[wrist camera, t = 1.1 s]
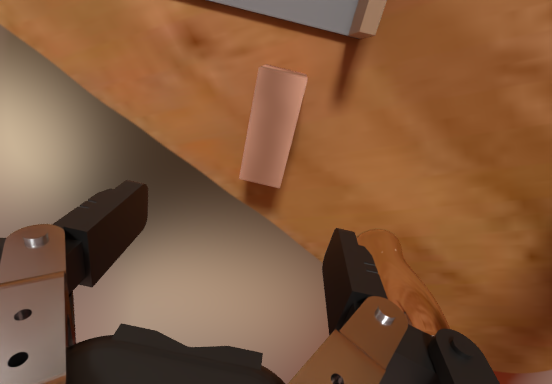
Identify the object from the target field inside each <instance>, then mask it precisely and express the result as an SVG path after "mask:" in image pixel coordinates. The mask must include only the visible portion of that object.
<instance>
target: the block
mask: <svg viewBox="0 0 552 384" xmlns="http://www.w3.org/2000/svg"><path fill="white" fill-rule="evenodd" d="M307 80H308V78H307V75H306V74H304V73H300V72H296V71H291V70H287V69H283V68H279V67H275V66H271V65H264V66H261V67H259V70H258V75H257V81H256V86H255V92H254V98H253V103H252V109H251V114H250V120H249V126H248V131H247V137H246V143H245V148H244V154H243V159H242V165H241V171H240V176H239V179H242V180H246V181H250V182H255V183H259V184H263V185H267V186H272V187H276V188H280V186H281V182H282V178H283V174H284V170H285V166H286V162H287V158H288V155H289V151H290V147H291V143H292V139H293V135H294V131H295V127H296V123H297V119H298V115H299V111H300V107H301V103H302V99H303V96H304V92H305V88H306V84H307Z"/></svg>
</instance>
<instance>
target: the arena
mask: <svg viewBox="0 0 552 384" xmlns="http://www.w3.org/2000/svg"><path fill="white" fill-rule="evenodd" d="M207 1H211V2H215V3H219V4H223V5H227V6H231V7H235V8H239V9H243V10H247V11H251V12H255V13H259V14H263V15H267V16H271V17H274V18H278V19H282V20H286V21H290V22H294V23H298V24H302V25H306V26H310V27H314V28H318V29H322V30H326V31H330V32H334V33H338V34H342V35H346V36H349V37H353V38H357V39H362V38H367V37H371V36H375V34H376V31H377V28H378V25H379V22H380V19H381V16H382V13H383V10H384V7H385V4H386V1H387V0H207Z"/></svg>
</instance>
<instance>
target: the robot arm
mask: <svg viewBox="0 0 552 384" xmlns="http://www.w3.org/2000/svg"><path fill="white" fill-rule="evenodd" d="M147 216H148V187H147V185H146V184H143V183H138V182H134V181H129V180H126V181H124V182H123V183H122V184H120V185H119V186H118V187H116V188H115V189H108V190H105V191H102V192H99V193H97V194H95V195H94V196H92V197H91V198H90V199H88V201H85V202H84V203H82V204H81V205H80V207H77V208H75V209H74V210H72V211H71V212H69V213H68V214H67V215H65V216H64V217H62V218H61V219H59V220H58V221H57V222H55V223H54V224H52V225H50V224H40V225H39V224H38V225H32V226H27V227H24V228H21V229H19V230H17V231H15V232H13V233H12V234H10V235H9V236H8V237H7V238H0V384H285V383H284V382H283V381H282V380H281V379H280V378H279V377H278V376H277V375H276V374H275V373H273V372H272V371H270V370H269V369H267V368H266V367H264V366H262V365H261V363H262V355H263V354H262V353H259V352H255V351H249V350H245V349H240V348H235V347H230V346H217V347H187V346H185V345H183V344H181V343H179V342H177V341H175V340H173V339H171V338H169V337H167V336H165V335H163V334H162V333H160V332H158V331H155V330H150V329H145V328H140V327H136V326H131V325H126V324H121V325H120V326H119V328H118V329H117V331H116V332H115V334H114V335H108V336H101V337H96V338H92V339H88V340H85V341H82V342H79V343H76V333H75V314H74V297H73V290H74V289H75V288H76V287H77V286H78V285H84V286H89V287H93V286H94V285H95V284H96V283H97V282H98V280H99V279H100V278H101V277H102V276H103V275H104V274H105V272H106V271H107V270H108V269H109V268H110V267H111V266H112V265H113V263H114V262H115V261H116V260H117V259H118V258H119V257H120V255H121V254H122V253H123V252H124V251H125V250H126V248H127V247H128V246H129V245H130V244H131V243H132V242H133V241H134V239H135V238H136V237H137V236H138V235H139V234H140V233H141V231H142V230H143V229H144V227H145V225H146V222H147ZM322 270H323V271H322V272H323V281H324V290H325V298H326V308H327V318H328V327H329V335H330V336H329V337H328V338H327V339H326V340H325V342H324V343H323V344H322V345H321V346H320V347H319V348H318V350H317V351H316V352H315V353H314V354H313V355H312V357H311V358H310V359H309V360H308V361H307V362H306V363H305V365H304V366H303V367H302V368H301V369H300V370H299V371H298V373H297V374H296V375H295V376H294V377H293V378H292V380H291V381H290V382H289V383H288V384H500V383H499V381H498V380H497V378H496V376H495V374H494V372H493V371H492V369H491V367H490V365H489V363H488V362H487V360H486V358H485V356H484V355H483V353H482V352H481V350H480V349H479V348H478V347H477V346H476V345H475V344H474V343H473V342H472V341H471V340H470V339H468V338H467V337H466V336H464V335H463V334H461V333H459V332H457V331H454V330H451V329H440V330H438V331H437V333H436V334H435V336H432V335H430V334H428V333H425V332H423V331H421V330H419V329H417V328H415V327H413V326H411V325H409V324H408V320H407V318H406V316H405V314H404V313H403V311H402V310H401V309H400V308H399V307H398V306H397V305H396V304H394V303H393V302H391V301H390V300H388V298H387V295H386V292H385V290H384V287H383V284H382V281H381V279H380V276H379V274H378V270H377V268H376V266H375V262H374V259H373V257H372V255H371V254H370V252H369V251H368V250H367V249H366V248H365V246H361V245H358V242H357V239H356V235H355V233H354V232H352V231H348V230H344V229H339V228H336V229H335V230H334V232H333V235H332V238H331V240H330V243H329V246H328V248H327V251H326V254H325V256H324V260H323V266H322Z"/></svg>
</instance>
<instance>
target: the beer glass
mask: <svg viewBox="0 0 552 384" xmlns="http://www.w3.org/2000/svg"><path fill="white" fill-rule="evenodd" d="M356 239H357V242H358V245H361V246H365V248H366V249H367V250H368V251H369V252H370V254H371V255H372V257H373V259H374V262H375V266H376V268H377V270H378V274H379V276H380V279H381V281H382V284H383V287H384V290H385V292H386V295H387V298H388V300H390V301H391V302H393V303H394V304H396V305H397V306H398V307H399V308H400V309H401V310H402V311H403V313H404V314H405V316H406V318H407V320H408V324H409V325H411V326H413V327H415V328H417V329H419V330H421V331H423V332H425V333H428V334H430V335H432V336H435V334H436V333H437V331H438V330H440V329H450V327H449V325H448V322H447V320H446V318H445V316H444V314H443V312H442V310H441V308H440V306H439V305H438V303H437V301H436V300H435V298H434V296H433V295H432V293H431V292H430V291H429V289H428V288H427V287H426V285H425V284H424V283H423V282H422V280H421V279H420V278H419V277H418V276H417V274H416V273H415V272H414V271H413V270H412V269H411V267H410V266H409V265H408V264H407V262H406V261H405V259H404V257H403V253H402V248H401V244H400V242H399V240H398V238H397V237H396V236H395V235H394V234H393V233H391V232H389V231H386V230H382V229H374V230H369V231H366V232H364V233H362V234H361V235H359V236H358V237H357V238H356Z"/></svg>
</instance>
